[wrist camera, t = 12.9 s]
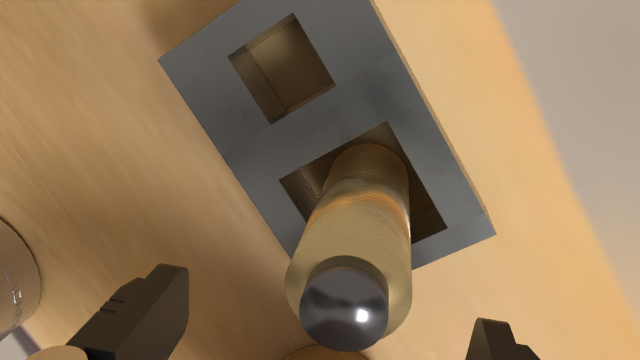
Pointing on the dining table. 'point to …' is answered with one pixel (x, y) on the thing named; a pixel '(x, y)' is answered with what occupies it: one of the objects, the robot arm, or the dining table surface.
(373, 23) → the steel socket block
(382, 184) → the spice shaker
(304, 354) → the plant pot
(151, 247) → the dining table surface
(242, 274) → the dining table surface
